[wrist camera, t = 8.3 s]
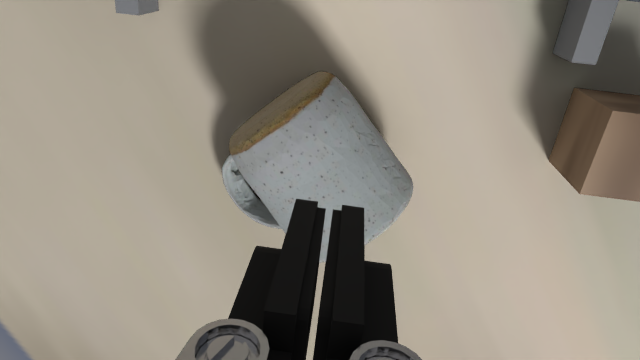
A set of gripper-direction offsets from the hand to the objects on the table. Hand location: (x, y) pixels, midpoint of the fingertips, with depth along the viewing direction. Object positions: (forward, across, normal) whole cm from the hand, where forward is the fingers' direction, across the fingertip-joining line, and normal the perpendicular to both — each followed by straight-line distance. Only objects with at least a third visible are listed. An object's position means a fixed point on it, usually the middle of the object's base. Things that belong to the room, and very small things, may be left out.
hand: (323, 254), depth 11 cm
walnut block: (+17, -15, +1) cm, 23 cm away
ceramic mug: (+17, +2, +5) cm, 18 cm away
